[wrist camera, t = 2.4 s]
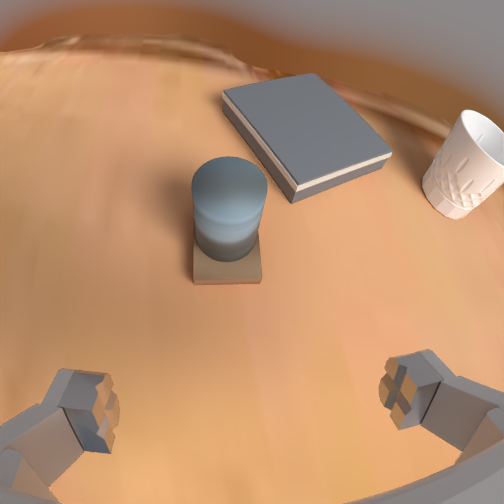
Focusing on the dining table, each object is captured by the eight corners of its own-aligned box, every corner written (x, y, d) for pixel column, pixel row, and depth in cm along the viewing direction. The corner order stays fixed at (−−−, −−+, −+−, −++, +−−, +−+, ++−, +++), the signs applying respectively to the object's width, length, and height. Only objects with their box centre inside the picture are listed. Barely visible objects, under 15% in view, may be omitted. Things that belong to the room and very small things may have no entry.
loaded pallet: (259, 283, 25) (276, 234, 18) (194, 285, 24) (186, 235, 17) (253, 207, 28) (265, 144, 21) (195, 208, 28) (190, 144, 21)
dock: (221, 111, 33) (222, 90, 31) (309, 91, 37) (314, 72, 34) (291, 205, 29) (298, 184, 26) (382, 168, 32) (393, 150, 29)
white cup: (457, 237, 29) (514, 183, 20) (406, 187, 31) (452, 122, 23) (476, 202, 32) (523, 152, 23) (431, 159, 34) (470, 102, 25)
